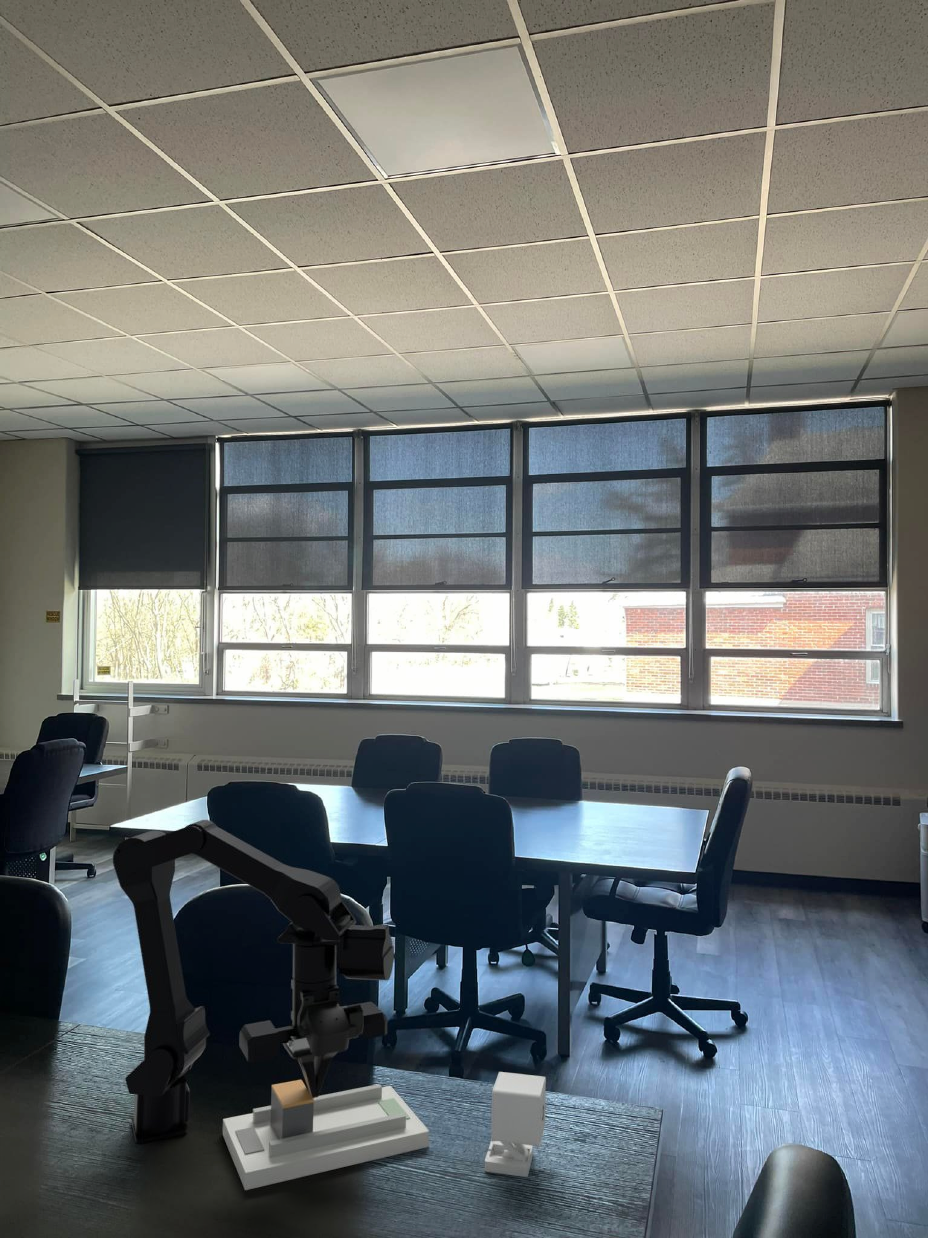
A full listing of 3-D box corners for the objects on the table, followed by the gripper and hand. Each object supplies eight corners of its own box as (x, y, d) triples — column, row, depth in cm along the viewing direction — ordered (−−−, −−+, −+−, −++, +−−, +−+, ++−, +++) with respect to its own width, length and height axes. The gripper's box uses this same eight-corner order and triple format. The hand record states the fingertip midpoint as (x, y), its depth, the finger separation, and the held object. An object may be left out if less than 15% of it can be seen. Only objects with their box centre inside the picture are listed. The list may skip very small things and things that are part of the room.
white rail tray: (245, 1190, 105) (246, 1160, 106) (222, 1134, 118) (223, 1107, 118) (428, 1147, 116) (429, 1119, 116) (390, 1100, 128) (390, 1075, 129)
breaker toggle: (281, 1145, 111) (283, 1105, 112) (270, 1123, 117) (271, 1085, 117) (312, 1138, 113) (313, 1099, 114) (300, 1117, 119) (301, 1079, 119)
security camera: (539, 1181, 109) (540, 1097, 109) (483, 1173, 110) (485, 1091, 111) (545, 1154, 115) (546, 1075, 115) (492, 1147, 116) (493, 1069, 117)
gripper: (258, 1009, 106) (257, 1143, 105) (402, 983, 114) (403, 1108, 113) (238, 980, 116) (238, 1102, 115) (372, 958, 124) (372, 1072, 123)
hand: (314, 1096), depth 116 cm, fingers closed
